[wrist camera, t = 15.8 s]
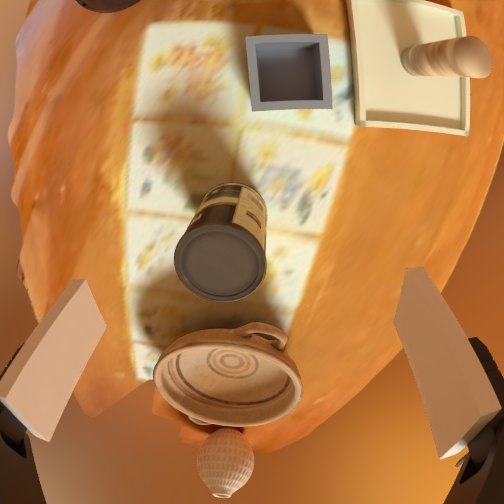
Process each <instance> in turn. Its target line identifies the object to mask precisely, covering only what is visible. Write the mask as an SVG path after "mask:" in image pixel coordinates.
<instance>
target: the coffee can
mask: <svg viewBox="0 0 504 504" xmlns="http://www.w3.org/2000/svg"><path fill="white" fill-rule="evenodd" d="M267 216H268V215H267V208H266V205H265V202H264V201H263V199H262V198H261V196H260V195H259V194H258V193H257V192H256V191H255V190H253V189H252V188H250V187H248V186H246V185H243V184H239V183H225V184H221V185H218V186H216V187H214V188H213V189H211V190H210V191H209V192H208V193H207V194H206V195H205V197H204V199H203V200H202V202H201V205H200V207H199V208H198V210H197V212H196V214H195V216H194V217H193V219H192V221H191V223H190V224H189V226H188V228H187V230H186V232H185V234H184V235H183V236H182V237H181V239H180V240H179V242H178V244H177V246H176V249H175V253H174V265H175V269H176V272H177V274H178V276H179V278H180V280H181V281H182V282H183V284H184V285H185V286H186V287H187V288H188V289H189V290H190V291H192V292H193V293H195V294H196V295H198V296H200V297H202V298H204V299H207V300H211V301H216V302H233V301H238V300H241V299H244V298H246V297H248V296H249V295H251V294H252V293H254V292H255V291H256V290H257V289H258V288H259V287H260V285H261V284H262V282H263V280H264V278H265V275H266V227H267Z"/></svg>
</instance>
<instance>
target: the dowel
mask: <svg viewBox="0 0 504 504" xmlns="http://www.w3.org/2000/svg"><path fill="white" fill-rule="evenodd" d="M401 64H402V66H403V68H404V69H405V71H406V72H408V73H409V74H410V75H413V76H450V77H471V78H485V77H487V76H488V75H489V74H490V72H491V70H492V58H491V54H490V52H489V50H488V48H487V46H486V45H485V44H484V43H483V42H482V41H481V40H480V39H479V38H477V37H474V36H466V37H459V38H453V39H447V40H441V41H436V42H431V43H426V44H421V45H416V46H412V47H408V48H406V49H404V50H403V51H402V53H401Z"/></svg>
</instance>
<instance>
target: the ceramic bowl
mask: <svg viewBox="0 0 504 504" xmlns="http://www.w3.org/2000/svg"><path fill="white" fill-rule="evenodd" d="M254 332H259V333H264V334H268V335H272V336H274V337H276V338H278V339H275V340H268V339H265V338H263V337H261V336H259V335H256V334H253V333H254ZM287 340H288V336H287V334H286V333H285V332H284V331H283V330H281V329H279V328H277V327H275V326H272V325H269V324H265V323H260V322H253V323H249V324H246V325H244V326H241V327H239V328H235V329H225V328H215V329H205V330H200V331H195V332H192V333H189V334H187V335H184V336H182V337H180V338H179V339H177V340H175V341H174V342H173V343H171V344H170V345H169V346H168V347H167V348H166V349H165V350H164V351H163V353H162V354H161V356H160V358H159V360H158V362H157V363H156V365H155V367H154V371H153V381H154V384H155V386H156V388H157V390H158V392H159V393H160V395H161V396H162V397H163V398H164V399H165V400H166V401H167V402H168V403H169V404H171V405H172V406H173V407H174V408H176V409H178V410H179V411H181V412H182V413H184V414H186V415H188V417H189V419H190V420H191V421H193V422H195V423H197V424H200V425H209V424H217V425H223V426H234V427H246V426H256V425H262V424H266V423H270V422H273V421H276V420H278V419H280V418H282V417H284V416H286V415H287V414H289V413H290V412H292V411H293V410H294V409H295V408H296V407H297V406H298V404H299V403H300V401H301V398H302V395H303V387H302V383H301V377H300V374H299V372H298V369H297V367H296V365H295V363H294V362H293V360H292V359H291V358H290V356H289V355H288V354H287V353H286V352H285V344H286V343H287Z"/></svg>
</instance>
